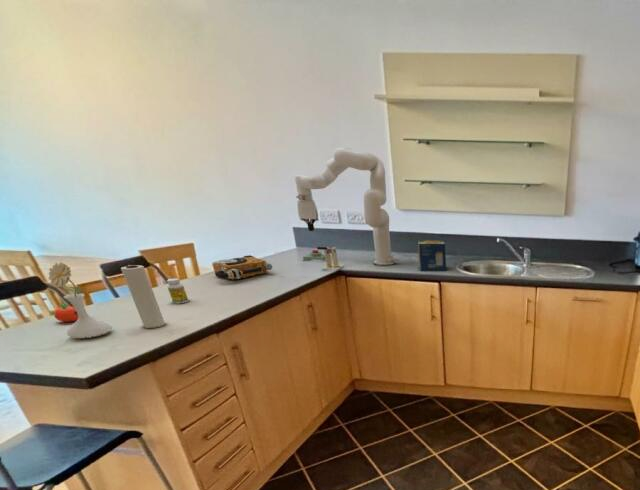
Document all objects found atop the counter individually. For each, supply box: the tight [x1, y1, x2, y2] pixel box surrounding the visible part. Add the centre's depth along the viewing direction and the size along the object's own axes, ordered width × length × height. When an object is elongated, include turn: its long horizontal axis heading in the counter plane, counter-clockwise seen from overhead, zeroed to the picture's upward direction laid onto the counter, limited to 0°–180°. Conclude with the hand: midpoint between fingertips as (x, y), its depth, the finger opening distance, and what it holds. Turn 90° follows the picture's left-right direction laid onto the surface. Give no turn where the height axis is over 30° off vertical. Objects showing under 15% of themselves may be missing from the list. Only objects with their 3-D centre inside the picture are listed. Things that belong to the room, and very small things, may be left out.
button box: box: [302, 251, 326, 262], centre depth 260 cm, size 12×10×4 cm
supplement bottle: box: [166, 277, 189, 304], centre depth 175 cm, size 5×5×10 cm
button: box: [311, 249, 320, 253], centre depth 259 cm, size 4×4×2 cm
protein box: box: [417, 240, 447, 272], centre depth 245 cm, size 10×15×16 cm
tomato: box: [53, 303, 78, 323], centre depth 152 cm, size 7×8×6 cm
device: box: [211, 254, 273, 280], centre depth 216 cm, size 23×8×30 cm
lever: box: [316, 246, 332, 255], centre depth 231 cm, size 12×5×2 cm, turn 179°
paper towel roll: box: [120, 264, 165, 329], centre depth 147 cm, size 7×6×21 cm
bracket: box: [322, 246, 344, 270], centre depth 237 cm, size 10×8×12 cm
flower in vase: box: [48, 261, 113, 339], centre depth 136 cm, size 13×11×25 cm
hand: (311, 230), depth 253 cm, fingers closed
